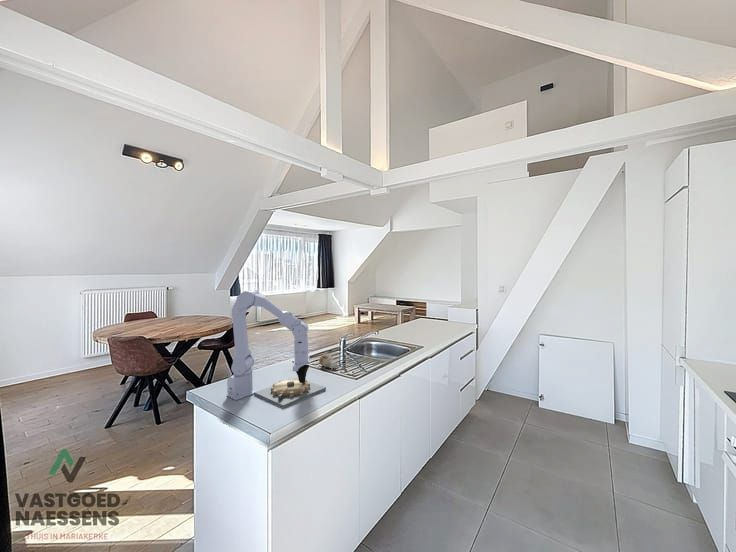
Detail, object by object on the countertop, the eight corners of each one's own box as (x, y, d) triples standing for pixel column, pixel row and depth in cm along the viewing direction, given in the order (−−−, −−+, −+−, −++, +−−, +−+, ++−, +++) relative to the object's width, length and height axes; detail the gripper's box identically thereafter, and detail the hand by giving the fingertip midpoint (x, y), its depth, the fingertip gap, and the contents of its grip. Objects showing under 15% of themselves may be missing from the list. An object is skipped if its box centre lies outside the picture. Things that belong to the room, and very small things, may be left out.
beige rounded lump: (330, 372, 158) (321, 354, 160) (323, 375, 166) (315, 358, 167) (342, 365, 163) (333, 348, 165) (334, 369, 170) (326, 352, 172)
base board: (283, 408, 117) (283, 400, 116) (254, 395, 129) (254, 388, 129) (325, 390, 134) (325, 383, 134) (296, 380, 146) (296, 373, 146)
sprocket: (312, 394, 126) (311, 382, 126) (270, 399, 121) (270, 387, 121) (308, 380, 141) (307, 370, 141) (271, 384, 137) (270, 374, 137)
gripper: (304, 355, 123) (305, 389, 124) (315, 346, 138) (316, 376, 138) (287, 355, 124) (288, 388, 125) (300, 346, 139) (301, 376, 139)
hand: (302, 382), depth 131 cm, fingers closed
